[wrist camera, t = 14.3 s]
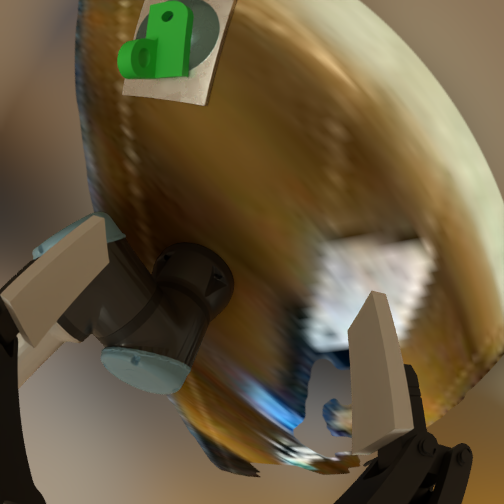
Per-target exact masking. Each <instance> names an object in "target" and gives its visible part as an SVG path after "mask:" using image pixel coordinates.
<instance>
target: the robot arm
mask: <svg viewBox="0 0 504 504" xmlns="http://www.w3.org/2000/svg"><path fill="white" fill-rule="evenodd" d="M125 237H126V235H125V234H124V233H122V232H121V231H120V230H119V228H118V227H117V225H116V224H115V223H114V221H113V220H112V219H111V217H110V216H109V215H108V214H106V213H104V212H94V213H92V214H89V215H87V216H85V217H83V218H81V219H80V220H78V221H76V222H74V223H72V224H71V225H69V226H67V227H66V228H64V229H62V230H61V231H59V232H58V233H56V234H54V235H53V236H51V237H50V238H49V239H47V240H46V241H44V242H43V243H42V244H41V245H40V246H38V247H36V248H35V249H34V250H33V253H32V254H33V259H34V260H32V261H30V262H29V263H28V264H27V265H26V266H24V267H23V269H21V270H20V271H19V272H18V273H17V275H15V276H14V277H13V278H11V280H9V281H8V282H7V283H6V284H5V285H4V286H3V287H2V288H1V289H0V504H46V502H45V500H44V498H43V496H42V494H41V493H40V492H39V491H38V490H37V488H36V487H35V485H34V483H33V480H32V476H31V472H30V468H29V464H28V460H27V455H26V450H25V444H24V439H23V433H22V425H21V417H20V407H19V393H18V389H19V388H20V387H21V386H22V385H23V384H24V382H26V380H27V379H28V378H29V377H30V376H31V375H32V374H33V373H34V372H35V371H36V370H37V369H38V368H39V367H40V366H41V365H42V364H43V363H44V362H45V361H46V360H47V359H48V358H49V357H50V356H51V355H52V354H53V353H54V352H55V351H56V350H57V349H58V348H59V347H60V346H61V345H62V344H63V343H64V342H67V341H69V342H76V343H81V342H83V341H84V340H85V339H86V338H87V337H88V336H89V335H90V334H93V335H94V336H95V337H96V338H97V339H98V340H99V341H100V342H101V343H102V344H103V345H104V347H105V348H104V349H103V350H102V352H101V353H102V354H101V361H102V363H103V365H104V366H105V368H106V369H107V370H108V371H109V372H111V373H112V374H113V375H114V376H116V377H117V378H119V379H120V380H122V381H124V382H125V383H127V384H129V385H131V386H133V387H136V388H138V389H141V390H144V391H147V392H151V393H156V394H171V393H174V392H176V391H178V390H179V389H180V388H181V386H182V385H183V383H184V381H185V379H186V377H187V375H188V374H189V373H190V370H191V367H192V365H193V362H194V360H195V357H196V355H197V352H198V350H199V347H200V345H201V342H202V340H203V337H204V335H205V332H206V330H207V327H208V325H209V323H210V322H211V321H212V320H213V319H214V318H215V317H216V316H217V315H218V314H219V313H220V312H221V311H222V310H223V309H224V308H225V307H226V306H227V305H228V303H229V301H230V299H231V296H232V293H233V290H234V281H233V277H232V274H231V271H230V270H229V268H228V266H227V265H226V263H225V262H224V261H223V260H222V259H221V258H220V257H219V256H218V255H217V254H215V253H214V252H212V251H211V250H209V249H207V248H205V247H203V246H200V245H197V244H193V243H178V244H174V245H171V246H169V247H168V248H166V249H165V250H164V251H163V252H162V254H161V255H160V256H159V257H158V259H157V260H156V262H155V264H154V268H153V272H152V275H151V274H150V273H149V271H148V270H147V269H146V267H145V266H144V264H143V263H142V262H141V260H140V259H139V257H138V256H137V255H136V253H135V252H134V250H133V249H132V247H131V246H130V245H129V243H128V242H127V240H126V239H125ZM348 341H349V354H350V369H351V390H352V455H370V454H372V453H373V452H375V451H377V450H378V457H376V458H374V459H372V460H370V461H368V462H366V463H365V464H364V465H363V466H367V465H369V464H370V465H369V466H368V467H367V468H366V470H365V471H364V472H363V473H362V474H361V475H360V477H359V478H358V479H357V480H356V481H355V482H354V483H353V484H352V485H351V487H350V488H349V489H348V490H347V491H346V492H345V493H344V494H343V495H342V496H341V497H340V498H339V499H338V500H337V501H336V502H335V503H334V504H461V503H462V500H463V497H464V493H465V490H466V486H467V483H468V479H469V474H470V470H471V465H472V459H473V455H472V451H471V449H470V447H469V446H468V445H467V444H464V443H461V444H458V445H456V446H455V447H453V448H450V447H446V446H443V445H439V444H438V443H437V440H436V438H435V437H434V436H433V435H432V434H430V433H429V432H427V429H426V423H425V416H424V410H423V404H422V398H420V396H421V393H420V389H419V383H418V378H417V375H416V373H415V371H414V369H413V368H412V366H411V365H407V364H403V360H402V355H401V351H400V346H399V342H398V338H397V334H396V330H395V326H394V322H393V318H392V315H391V311H390V307H389V304H388V300H387V297H386V294H383V293H379V292H375V291H371V293H370V294H369V296H368V298H367V300H366V301H365V303H364V305H363V306H362V308H361V310H360V311H359V313H358V315H357V316H356V318H355V320H354V321H353V323H352V324H351V326H350V328H349V329H348ZM434 485H435V488H434V490H433V487H434Z"/></svg>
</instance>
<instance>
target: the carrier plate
mask: <svg viewBox="0 0 504 504" xmlns="http://www.w3.org/2000/svg"><path fill="white" fill-rule="evenodd" d="M167 1H179V2H181V3H183V4H184V5H186V6H188V7H189V8H190V9H191V10H192V12H193V15H194V19H193V28H192V37H191V47H190V58H189V71H188V77H173V78H160V79H126V78H125V81H124V86H123V92H122V95H130V96H141V97H150V98H158V99H166V100H173V101H180V102H186V103H192V104H197V105H203V106H207V105H208V101H209V97H210V93H211V88H212V84H213V80H214V76H215V73H216V69H217V65H218V61H219V58H220V54H221V50H222V47H223V43H224V40H225V37H226V33H227V30H228V27H229V23H230V20H231V17H232V14H233V11H234V8H235V5H236V2H237V0H145V2H144V5H143V8H142V11H141V14H140V17H139V21H138V24H137V28H136V31H135V35H134V39H133V40H137V39H142V38H146V33H147V25H148V17H149V10H150V5H153V4H157V3H162V2H167ZM172 18H173V15H171V16H170V17H169V19H168V21H170V20H171V19H172Z"/></svg>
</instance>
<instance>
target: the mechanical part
mask: <svg viewBox="0 0 504 504" xmlns="http://www.w3.org/2000/svg"><path fill="white" fill-rule="evenodd" d="M171 15H173V18H172V19H171V20H170V21H168V19H169V17H170V16H171ZM193 19H194V15H193V12H192V10H191V9H190V8H189V7H188V6H186V5H184V4H183V3H181V2H179V1H167V2H162V3H157V4H153V5H150V10H149V17H148V25H147V33H146V38H142V39H137V40H132V41H128V42H126V43H125V44H123V46H122V47H121V49H120V51H119V54H118V60H117V62H118V68H119V71H120V73H121V75H122V76H123V77H124V78H126V79H160V78H173V77H188V71H189V58H190V47H191V37H192V28H193Z"/></svg>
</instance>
